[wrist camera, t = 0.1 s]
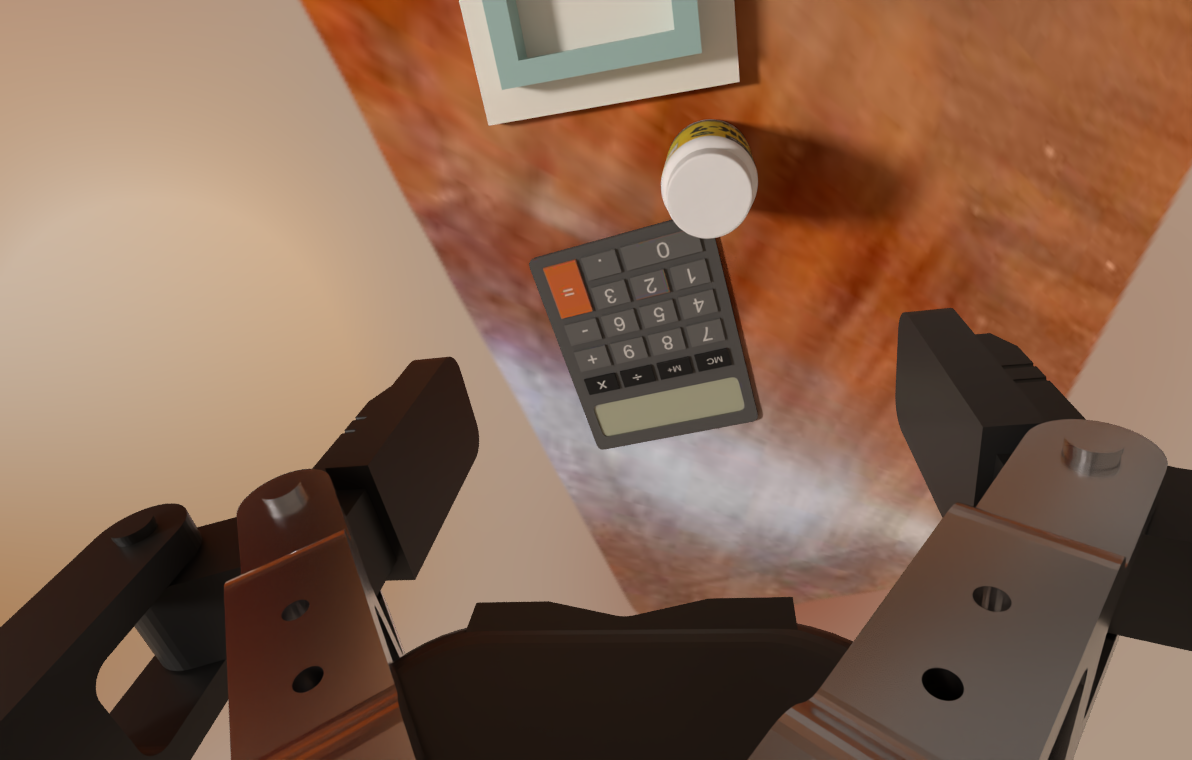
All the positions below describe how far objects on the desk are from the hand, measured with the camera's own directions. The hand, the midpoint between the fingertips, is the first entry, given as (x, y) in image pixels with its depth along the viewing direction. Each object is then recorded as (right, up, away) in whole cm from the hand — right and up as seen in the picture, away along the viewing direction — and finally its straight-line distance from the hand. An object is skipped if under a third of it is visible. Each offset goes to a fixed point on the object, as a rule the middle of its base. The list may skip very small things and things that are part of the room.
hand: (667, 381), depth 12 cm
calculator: (+2, +3, +32) cm, 33 cm away
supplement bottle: (+5, +13, +26) cm, 29 cm away
